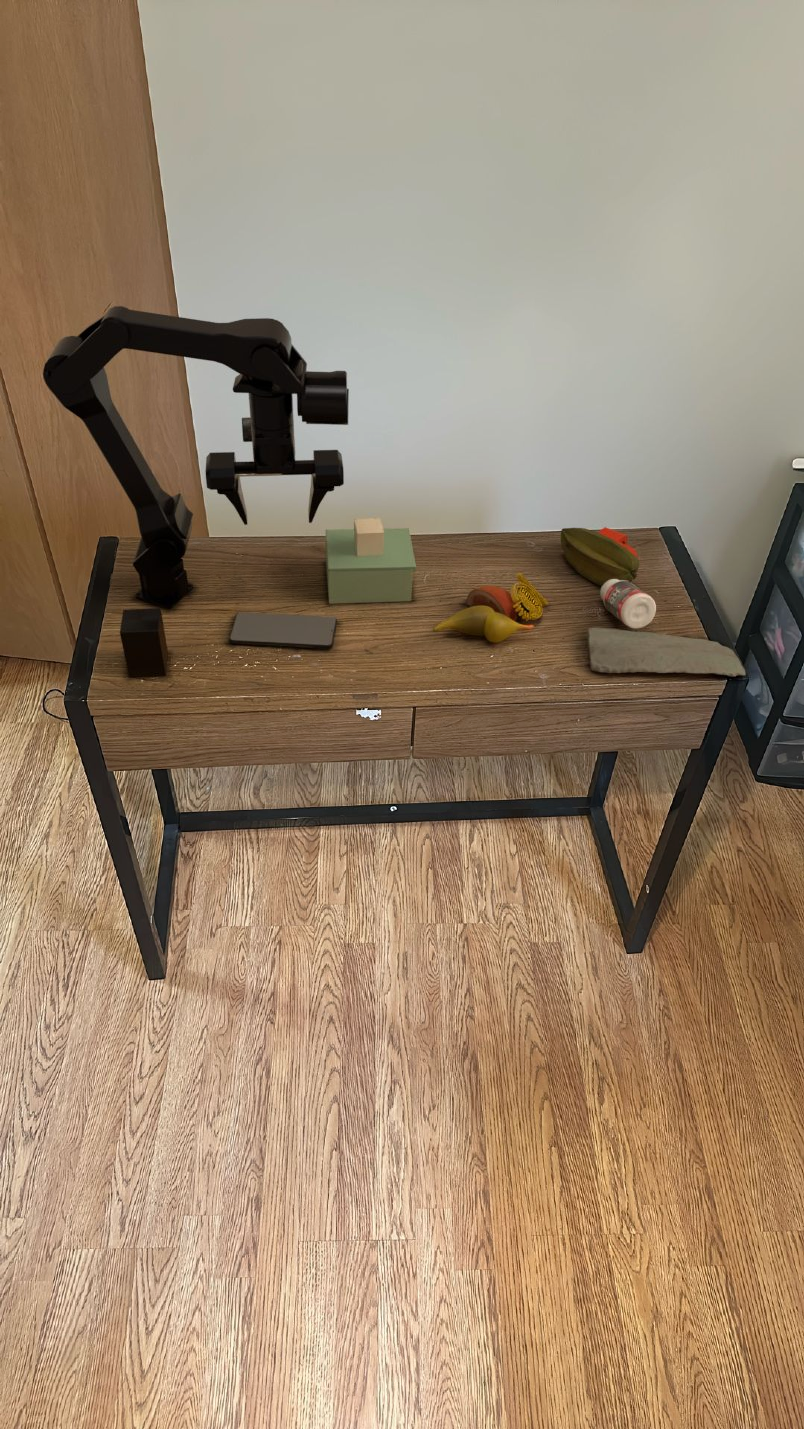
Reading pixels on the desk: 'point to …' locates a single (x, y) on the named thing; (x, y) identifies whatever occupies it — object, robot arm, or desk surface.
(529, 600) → the logo
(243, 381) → the robot arm
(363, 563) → the cover
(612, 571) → the fruit
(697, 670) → the stone slab
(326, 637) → the smartphone
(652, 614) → the pill bottle
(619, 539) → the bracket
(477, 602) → the fruit slice
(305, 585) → the desk surface
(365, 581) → the case
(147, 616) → the stand
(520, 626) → the yellow tapered piece
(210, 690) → the desk surface
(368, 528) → the block
